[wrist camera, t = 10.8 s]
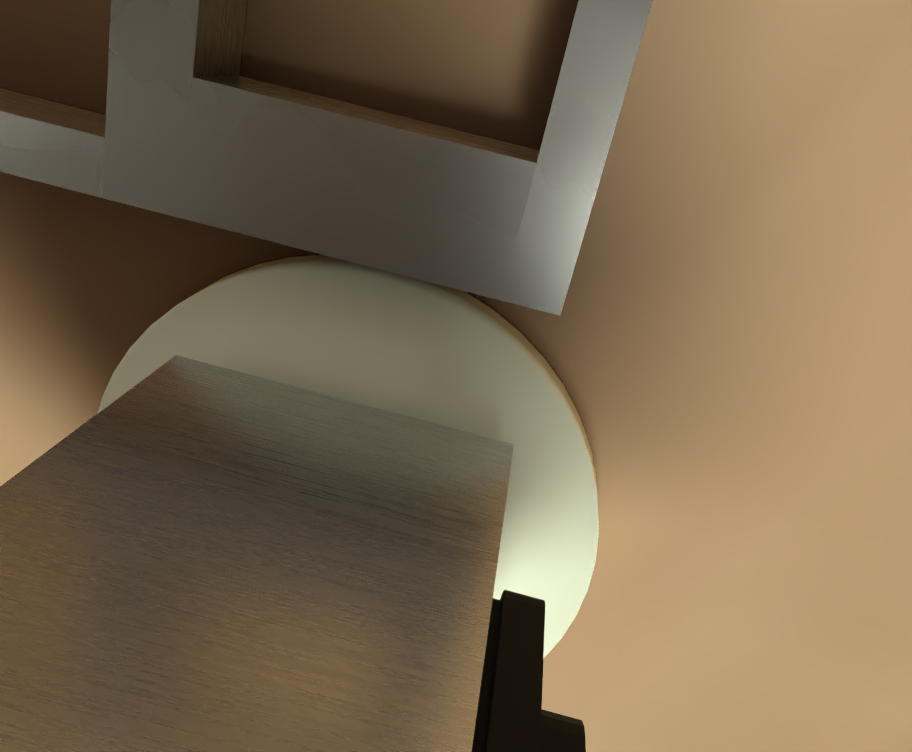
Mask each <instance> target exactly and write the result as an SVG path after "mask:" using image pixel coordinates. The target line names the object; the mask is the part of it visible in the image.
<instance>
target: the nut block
mask: <svg viewBox="0 0 912 752" xmlns="http://www.w3.org/2000/svg"><path fill="white" fill-rule="evenodd" d="M513 448H514V444H511V443H507V442H503V441H500V440H496V439H492V438H488V437H484V436H481V435H477V434H473V433H469V432H466V431H462V430H458V429H454V428H450V427H447V426H443V425H439V424H435V423H431V422H428V421H424V420H420V419H416V418H413V417H409V416H405V415H401V414H397V413H394V412H390V411H386V410H382V409H378V408H375V407H371V406H367V405H363V404H360V403H356V402H352V401H348V400H344V399H341V398H337V397H333V396H329V395H325V394H322V393H318V392H314V391H310V390H307V389H303V388H299V387H295V386H291V385H288V384H284V383H280V382H276V381H272V380H269V379H265V378H261V377H257V376H254V375H250V374H246V373H242V372H238V371H235V370H231V369H227V368H223V367H219V366H216V365H212V364H208V363H204V362H201V361H197V360H193V359H189V358H185V357H182V356H178V355H175V356H174V357H173V358H171V359H170V360H169V361H167V362H166V363H165V364H163V365H162V366H161V367H159V368H158V369H157V370H155V371H154V372H153V373H151V374H150V375H149V376H147V377H146V378H145V379H143V380H142V381H141V382H139V383H138V384H137V385H135V386H134V387H133V388H131V389H130V390H129V391H127V392H126V393H125V394H123V395H122V396H121V397H119V398H118V399H117V400H115V401H114V402H113V403H111V404H110V405H109V406H107V407H106V408H105V409H103V410H102V411H101V412H99V413H98V414H97V415H95V416H94V417H93V418H91V419H90V420H89V421H87V422H86V423H84V424H83V425H82V426H80V427H79V428H78V429H76V430H75V431H74V432H72V433H71V434H70V435H68V436H67V437H66V438H64V439H63V440H62V441H60V442H59V443H58V444H56V445H55V446H54V447H52V448H51V449H50V450H48V451H47V452H46V453H44V454H43V455H42V456H40V457H39V458H38V459H36V460H35V461H34V462H32V463H31V464H30V465H28V466H27V467H26V468H24V469H23V470H22V471H20V472H19V473H18V474H16V475H15V476H14V477H12V478H11V479H10V480H8V481H7V482H6V483H4V484H3V485H2V486H0V752H472V745H473V738H474V730H475V723H476V716H477V709H478V701H479V694H480V687H481V680H482V672H483V665H484V658H485V651H486V643H487V636H488V629H489V622H490V614H491V607H492V600H493V593H494V585H495V578H496V571H497V564H498V556H499V549H500V542H501V535H502V527H503V520H504V513H505V506H506V498H507V491H508V484H509V477H510V469H511V462H512V455H513Z"/></svg>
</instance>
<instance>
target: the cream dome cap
mask: <svg viewBox="0 0 912 752" xmlns="http://www.w3.org/2000/svg"><path fill="white" fill-rule="evenodd" d="M175 355H178V356H182V357H185V358H189V359H193V360H197V361H201V362H204V363H208V364H212V365H216V366H219V367H223V368H227V369H231V370H235V371H238V372H242V373H246V374H250V375H254V376H257V377H261V378H265V379H269V380H272V381H276V382H280V383H284V384H288V385H291V386H295V387H299V388H303V389H307V390H310V391H314V392H318V393H322V394H325V395H329V396H333V397H337V398H341V399H344V400H348V401H352V402H356V403H360V404H363V405H367V406H371V407H375V408H378V409H382V410H386V411H390V412H394V413H397V414H401V415H405V416H409V417H413V418H416V419H420V420H424V421H428V422H431V423H435V424H439V425H443V426H447V427H450V428H454V429H458V430H462V431H466V432H469V433H473V434H477V435H481V436H484V437H488V438H492V439H496V440H500V441H503V442H507V443H511V444H514V448H513V455H512V462H511V469H510V477H509V484H508V491H507V498H506V506H505V513H504V520H503V527H502V535H501V542H500V549H499V556H498V564H497V571H496V578H495V585H494V593H493V598H494V599H498V600H500V598H501V595H502V593H503V591H504V590H508V591H512V592H516V593H519V594H523V595H527V596H530V597H534V598H538V599H541V600H544V601H545V628H544V653H543V659H544V657H545V656H546V655H547V654H548V653H549V652H550V651H551V650H552V648H553V647H554V646H555V645H556V644H557V643H558V642H559V641H560V639H561V638H562V637H563V635H564V633H565V632H566V630H567V629H568V627H569V626H570V624H571V623H572V621H573V620H574V618H575V617H576V615H577V613H578V611H579V608H580V606H581V604H582V602H583V599H584V597H585V595H586V593H587V591H588V588H589V584H590V580H591V577H592V573H593V569H594V566H595V562H596V554H597V545H598V536H599V520H598V499H597V484H596V473H595V468H594V463H593V458H592V453H591V448H590V444H589V441H588V438H587V435H586V432H585V429H584V427H583V424H582V421H581V418H580V415H579V413H578V411H577V409H576V408H575V406H574V404H573V402H572V400H571V398H570V396H569V394H568V392H567V390H566V388H565V386H564V385H563V383H562V382H561V381H560V379H559V378H558V376H557V375H556V374H555V372H554V371H553V369H552V368H551V367H550V365H549V364H548V362H547V361H546V360H545V358H544V357H543V356H542V355H541V354H540V353H539V352H538V351H537V350H536V348H535V347H534V346H533V345H532V344H531V343H530V342H529V341H528V340H527V339H526V338H525V337H524V336H523V334H522V333H521V332H520V331H518V330H517V329H516V328H515V327H513V326H512V325H511V324H510V323H509V322H507V321H506V320H505V319H504V318H503V317H501V316H500V315H499V314H498V313H497V312H495V311H494V310H493V309H491V308H490V307H488V306H487V305H485V304H484V303H482V302H480V301H479V300H477V299H476V298H474V297H473V296H471V295H469V294H468V293H466V292H465V291H462V290H458V289H454V288H450V287H446V286H442V285H438V284H434V283H431V282H427V281H423V280H419V279H415V278H411V277H407V276H403V275H399V274H396V273H392V272H388V271H384V270H380V269H376V268H372V267H368V266H364V265H361V264H357V263H353V262H349V261H345V260H341V259H337V258H333V257H329V256H326V255H313V256H300V257H289V258H284V259H280V260H275V261H270V262H266V263H261V264H257V265H254V266H252V267H249V268H246V269H244V270H241V271H238V272H235V273H233V274H230V275H227V276H225V277H224V278H222V279H220V280H218V281H216V282H215V283H213V284H211V285H209V286H207V287H206V288H204V289H202V290H200V291H199V292H197V293H195V294H194V295H192V296H190V297H189V298H187V299H186V300H184V301H182V302H181V303H179V304H177V305H176V306H175V307H173V308H172V309H171V310H170V311H168V312H167V313H166V314H164V315H163V316H162V317H160V318H159V319H158V320H157V321H155V322H154V323H153V324H151V326H150V327H149V328H148V329H147V330H146V331H145V332H144V333H143V334H142V335H141V336H140V337H139V338H138V339H137V340H136V342H135V343H134V344H133V345H132V346H131V347H130V348H129V350H128V351H127V353H126V354H125V356H124V357H123V359H122V360H121V362H120V363H119V365H118V366H117V368H116V369H115V371H114V372H113V375H112V377H111V379H110V381H109V383H108V385H107V388H106V390H105V392H104V394H103V396H102V399H101V402H100V406H99V409H98V413H99V412H101V411H102V410H103V409H105V408H106V407H107V406H109V405H110V404H111V403H113V402H114V401H115V400H117V399H118V398H119V397H121V396H122V395H123V394H125V393H126V392H127V391H129V390H130V389H131V388H133V387H134V386H135V385H137V384H138V383H139V382H141V381H142V380H143V379H145V378H146V377H147V376H149V375H150V374H151V373H153V372H154V371H155V370H157V369H158V368H159V367H161V366H162V365H163V364H165V363H166V362H167V361H169V360H170V359H171V358H173V357H174V356H175ZM98 413H97V414H98Z"/></svg>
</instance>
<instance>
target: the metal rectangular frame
mask: <svg viewBox="0 0 912 752" xmlns="http://www.w3.org/2000/svg"><path fill="white" fill-rule="evenodd" d="M652 1H653V0H579V1H578V5H577V9H576V12H575V16H574V20H573V24H572V28H571V32H570V36H569V40H568V43H567V47H566V51H565V55H564V59H563V63H562V67H561V71H560V74H559V78H558V82H557V86H556V90H555V94H554V98H553V101H552V105H551V109H550V113H549V117H548V121H547V125H546V129H545V132H544V136H543V140H542V144H541V148H540V150H537V149H533V148H529V147H525V146H521V145H517V144H513V143H509V142H505V141H501V140H497V139H493V138H489V137H485V136H481V135H477V134H473V133H469V132H465V131H461V130H457V129H452V128H448V127H444V126H440V125H436V124H432V123H428V122H424V121H420V120H416V119H412V118H408V117H404V116H400V115H396V114H392V113H388V112H384V111H380V110H376V109H372V108H368V107H364V106H360V105H356V104H352V103H348V102H344V101H340V100H336V99H332V98H328V97H324V96H320V95H316V94H312V93H308V92H304V91H300V90H296V89H292V88H288V87H284V86H280V85H276V84H272V83H268V82H264V81H260V80H256V79H252V78H248V77H244V76H240V75H239V74H240V65H241V55H242V46H243V37H244V27H245V18H246V9H247V0H111V13H110V35H109V58H108V80H107V103H106V115H105V114H101V113H97V112H93V111H89V110H85V109H81V108H77V107H73V106H69V105H65V104H61V103H58V102H54V101H50V100H46V99H42V98H38V97H34V96H30V95H26V94H22V93H18V92H14V91H10V90H6V89H2V88H0V172H3V173H7V174H11V175H14V176H18V177H22V178H26V179H30V180H34V181H38V182H42V183H46V184H49V185H53V186H57V187H61V188H65V189H69V190H73V191H77V192H81V193H84V194H88V195H92V196H96V197H100V198H104V199H108V200H112V201H116V202H119V203H123V204H127V205H131V206H135V207H139V208H143V209H147V210H151V211H154V212H158V213H162V214H166V215H170V216H174V217H178V218H182V219H186V220H189V221H193V222H197V223H201V224H205V225H209V226H213V227H217V228H221V229H224V230H228V231H232V232H236V233H240V234H244V235H248V236H252V237H256V238H259V239H263V240H267V241H271V242H275V243H279V244H283V245H287V246H291V247H294V248H298V249H302V250H306V251H310V252H314V253H318V254H322V255H326V256H329V257H333V258H337V259H341V260H345V261H349V262H353V263H357V264H361V265H364V266H368V267H372V268H376V269H380V270H384V271H388V272H392V273H396V274H399V275H403V276H407V277H411V278H415V279H419V280H423V281H427V282H431V283H434V284H438V285H442V286H446V287H450V288H454V289H458V290H462V291H466V292H469V293H473V294H477V295H481V296H485V297H489V298H493V299H497V300H501V301H504V302H508V303H512V304H516V305H520V306H524V307H528V308H532V309H536V310H539V311H543V312H547V313H551V314H555V315H559V316H561V312H562V309H563V305H564V302H565V298H566V295H567V292H568V288H569V285H570V281H571V278H572V275H573V271H574V268H575V264H576V261H577V257H578V254H579V251H580V247H581V244H582V240H583V237H584V233H585V230H586V227H587V223H588V220H589V216H590V213H591V210H592V206H593V203H594V199H595V196H596V192H597V189H598V186H599V182H600V179H601V175H602V172H603V168H604V165H605V162H606V158H607V155H608V151H609V148H610V145H611V141H612V138H613V134H614V131H615V127H616V124H617V121H618V117H619V114H620V110H621V107H622V103H623V100H624V97H625V93H626V90H627V86H628V83H629V80H630V76H631V73H632V69H633V66H634V62H635V59H636V56H637V52H638V49H639V45H640V42H641V38H642V35H643V32H644V28H645V25H646V21H647V18H648V15H649V11H650V8H651V4H652Z"/></svg>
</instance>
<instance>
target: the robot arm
mask: <svg viewBox="0 0 912 752" xmlns="http://www.w3.org/2000/svg"><path fill="white" fill-rule="evenodd" d="M544 628H545V601H544V600H541V599H538V598H534V597H530V596H527V595H523V594H519V593H516V592H512V591H508V590H504V591H503V593H502V595H501V598H500V600H498V599H494V598H493V600H492V607H491V614H490V622H489V629H488V636H487V643H486V651H485V658H484V665H483V672H482V680H481V687H480V694H479V701H478V709H477V716H476V723H475V730H474V738H473V745H472V752H586V749H585V731H584V725H583V722H582V720H578V719H574V718H571V717H567V716H563V715H560V714H556V713H552V712H549V711H545V710H542V709H541V704H542V679H543V653H544Z"/></svg>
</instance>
